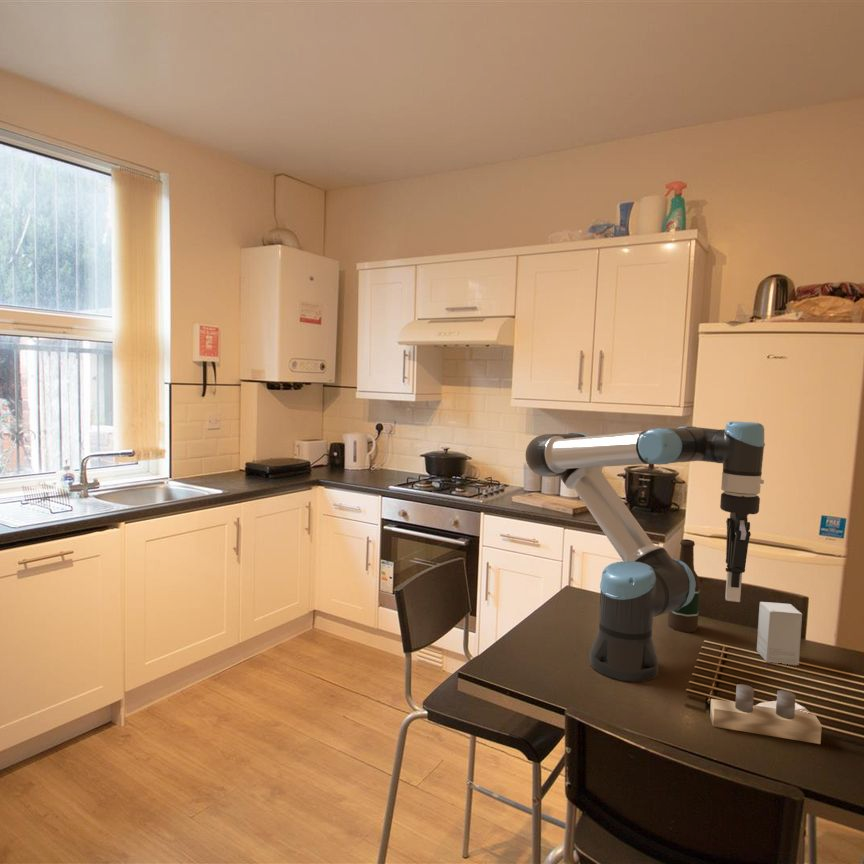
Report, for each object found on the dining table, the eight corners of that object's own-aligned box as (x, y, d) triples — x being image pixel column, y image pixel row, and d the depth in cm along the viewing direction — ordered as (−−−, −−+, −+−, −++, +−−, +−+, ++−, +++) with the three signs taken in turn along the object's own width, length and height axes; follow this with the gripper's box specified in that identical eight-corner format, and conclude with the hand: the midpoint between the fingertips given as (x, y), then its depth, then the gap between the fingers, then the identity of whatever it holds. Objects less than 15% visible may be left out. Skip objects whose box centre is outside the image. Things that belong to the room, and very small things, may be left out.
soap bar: (753, 714, 122) (754, 702, 122) (789, 709, 125) (790, 696, 125) (773, 728, 118) (774, 714, 117) (810, 722, 120) (811, 709, 120)
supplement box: (799, 666, 144) (803, 614, 143) (765, 662, 146) (769, 610, 145) (788, 653, 151) (791, 603, 151) (755, 650, 153) (758, 600, 152)
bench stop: (713, 726, 117) (715, 688, 116) (709, 715, 121) (712, 678, 120) (820, 744, 112) (823, 704, 111) (813, 732, 116) (816, 694, 115)
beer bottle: (664, 620, 171) (669, 536, 169) (693, 623, 170) (698, 537, 168) (671, 631, 163) (676, 543, 162) (701, 634, 162) (707, 544, 161)
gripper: (766, 500, 125) (758, 612, 127) (753, 490, 137) (745, 593, 139) (726, 496, 127) (718, 607, 129) (716, 487, 139) (709, 588, 141)
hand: (732, 600), depth 134 cm, fingers closed
